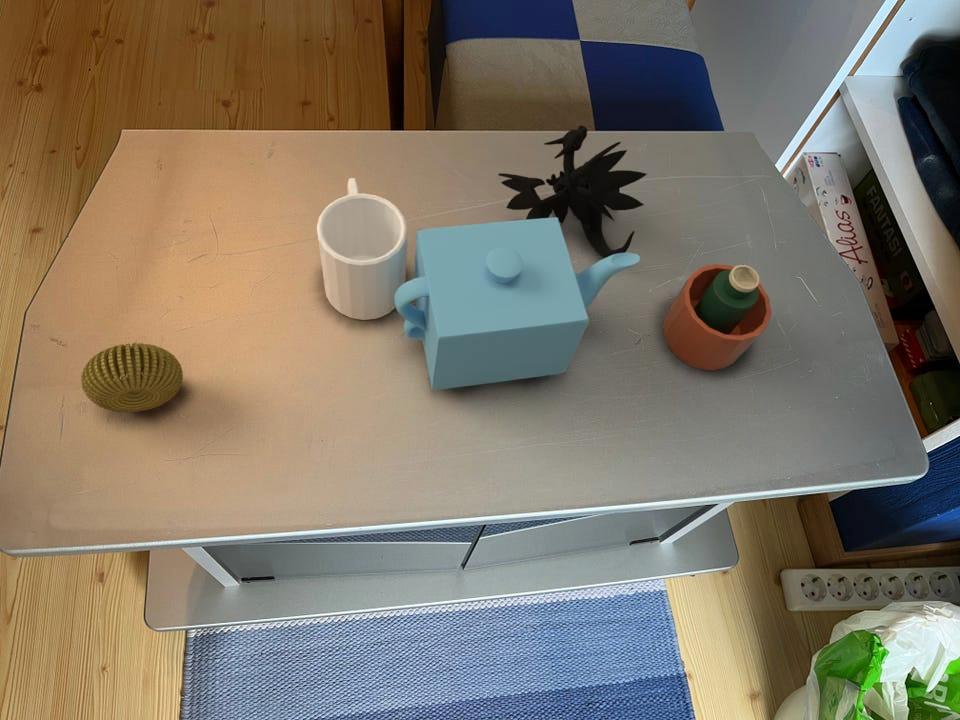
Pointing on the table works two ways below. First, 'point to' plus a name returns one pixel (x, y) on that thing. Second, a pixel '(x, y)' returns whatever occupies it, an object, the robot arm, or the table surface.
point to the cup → (701, 341)
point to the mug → (362, 253)
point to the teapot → (499, 300)
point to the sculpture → (132, 377)
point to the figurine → (579, 190)
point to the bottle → (728, 298)
